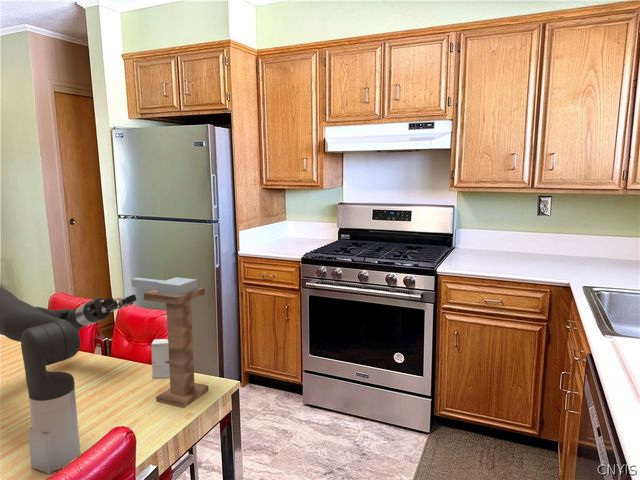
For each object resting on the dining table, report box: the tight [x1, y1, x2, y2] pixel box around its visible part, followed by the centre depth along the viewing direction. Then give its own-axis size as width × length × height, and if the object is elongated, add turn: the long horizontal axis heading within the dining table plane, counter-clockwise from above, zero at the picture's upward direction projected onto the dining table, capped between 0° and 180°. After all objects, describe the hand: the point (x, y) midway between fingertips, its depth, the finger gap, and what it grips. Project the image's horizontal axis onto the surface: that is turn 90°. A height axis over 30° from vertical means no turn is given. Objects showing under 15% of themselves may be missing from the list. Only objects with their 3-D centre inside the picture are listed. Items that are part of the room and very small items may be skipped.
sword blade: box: [131, 276, 199, 296], centre depth 136 cm, size 8×21×3 cm, turn 67°
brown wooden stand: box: [143, 287, 209, 409], centre depth 136 cm, size 12×12×33 cm
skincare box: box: [150, 338, 170, 379], centre depth 152 cm, size 6×4×12 cm
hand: (124, 298), depth 144 cm, fingers open, 8 cm apart
